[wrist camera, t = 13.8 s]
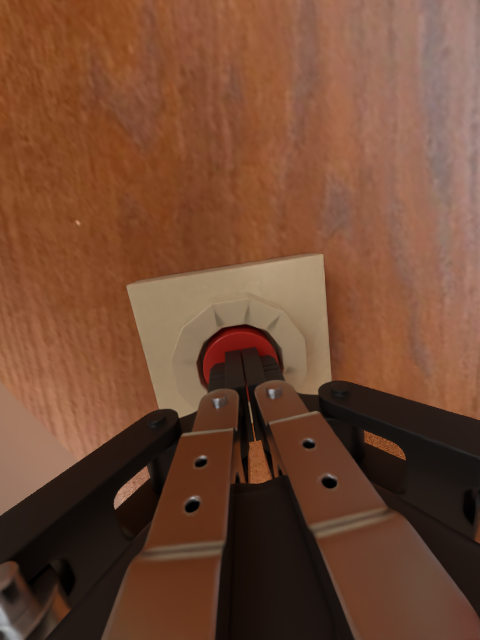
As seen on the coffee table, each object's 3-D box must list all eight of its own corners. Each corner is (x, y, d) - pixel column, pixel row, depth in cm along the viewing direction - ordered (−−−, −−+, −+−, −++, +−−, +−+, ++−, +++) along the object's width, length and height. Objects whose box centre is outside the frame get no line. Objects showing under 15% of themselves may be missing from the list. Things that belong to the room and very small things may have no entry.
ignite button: (211, 389, 15) (210, 407, 13) (199, 327, 14) (196, 339, 12) (276, 378, 15) (282, 395, 13) (268, 316, 14) (274, 326, 12)
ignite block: (173, 414, 18) (159, 460, 14) (139, 279, 16) (111, 291, 12) (320, 389, 18) (347, 428, 14) (310, 252, 16) (338, 255, 12)
